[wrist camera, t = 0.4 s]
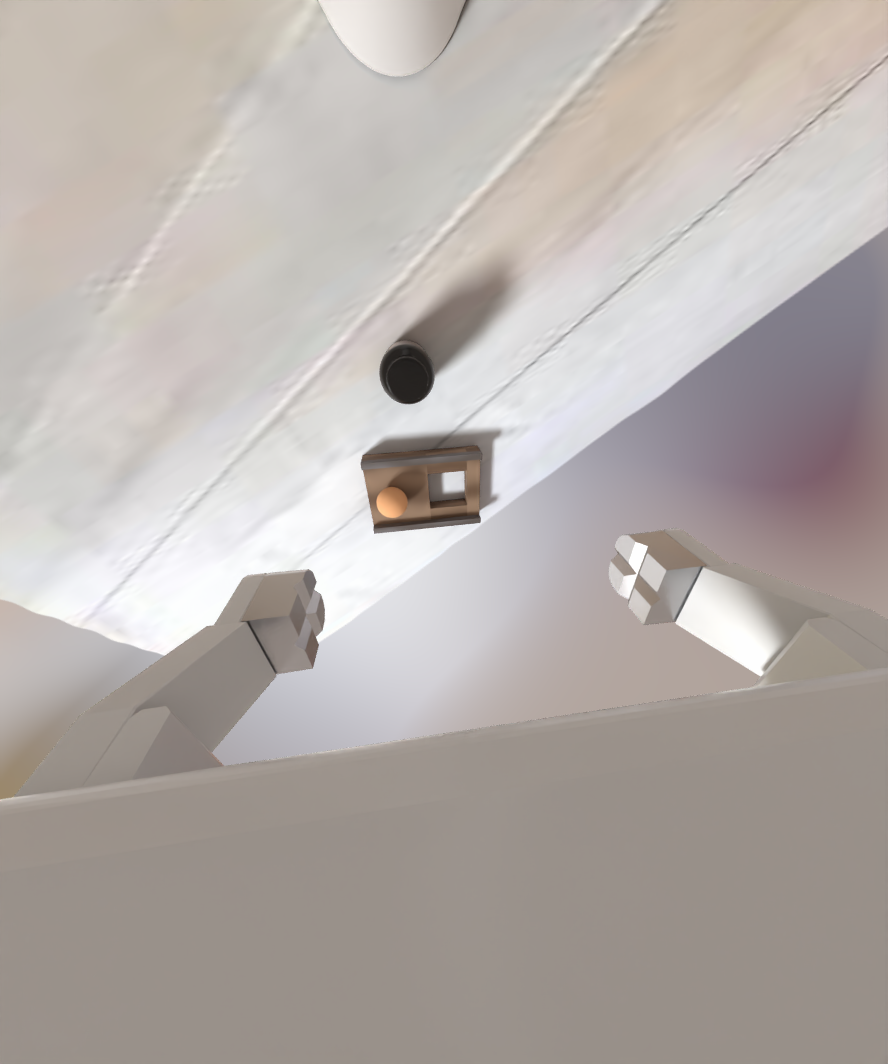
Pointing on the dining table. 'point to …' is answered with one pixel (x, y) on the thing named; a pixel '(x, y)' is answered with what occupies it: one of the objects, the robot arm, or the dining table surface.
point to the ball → (392, 502)
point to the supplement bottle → (407, 372)
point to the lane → (423, 487)
